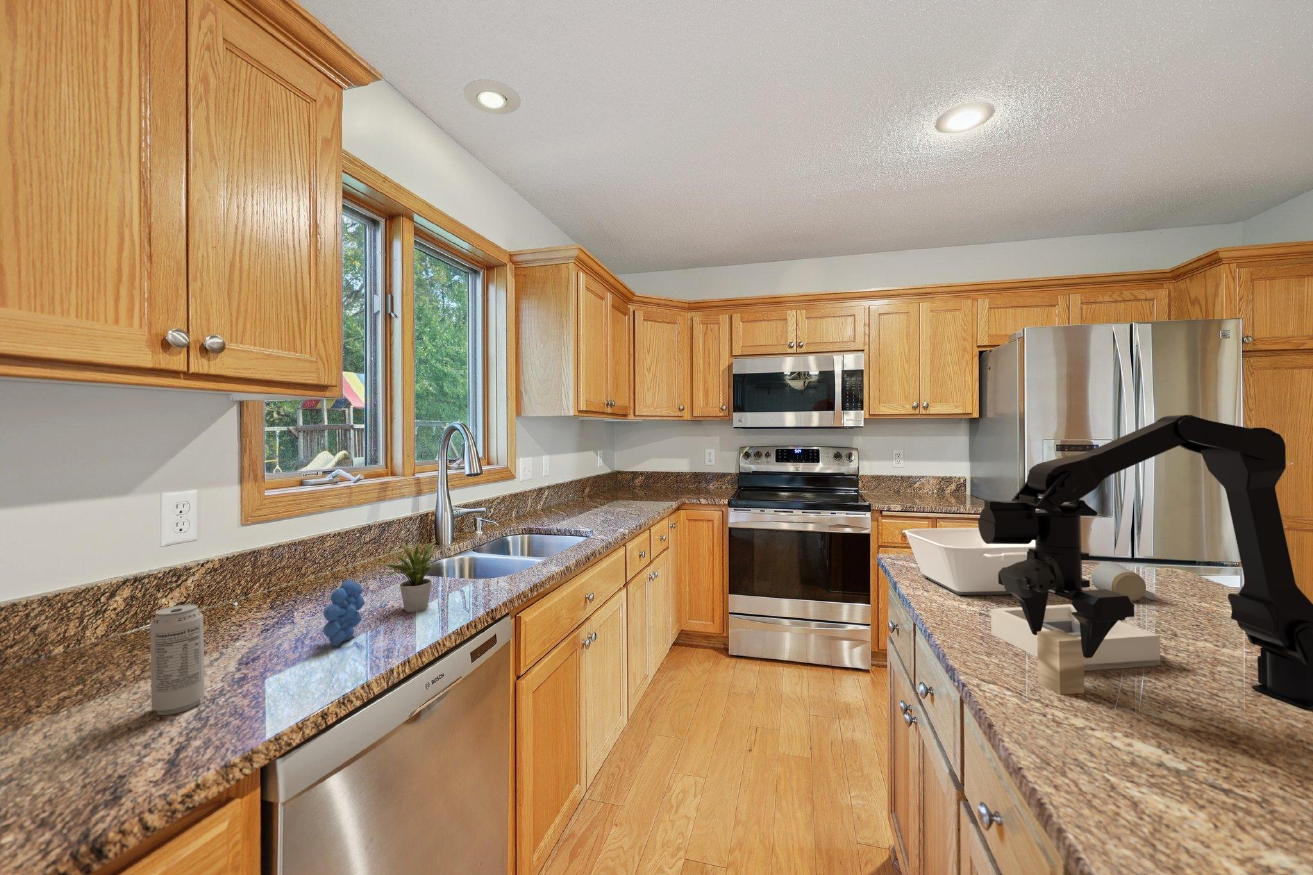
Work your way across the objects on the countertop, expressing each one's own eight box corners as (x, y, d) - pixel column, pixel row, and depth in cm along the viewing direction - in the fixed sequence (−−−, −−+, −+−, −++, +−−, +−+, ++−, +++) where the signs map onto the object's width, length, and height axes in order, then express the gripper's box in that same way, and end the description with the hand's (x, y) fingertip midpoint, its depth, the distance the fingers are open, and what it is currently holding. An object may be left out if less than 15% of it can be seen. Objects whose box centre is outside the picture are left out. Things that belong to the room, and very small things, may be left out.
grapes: (341, 630, 113) (340, 574, 114) (372, 630, 113) (371, 574, 113) (304, 652, 102) (303, 590, 102) (339, 652, 102) (338, 589, 102)
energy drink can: (207, 693, 86) (205, 600, 86) (201, 708, 81) (199, 610, 81) (156, 704, 82) (155, 607, 82) (147, 721, 77) (145, 618, 77)
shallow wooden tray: (1160, 665, 89) (1159, 635, 89) (1067, 672, 87) (1066, 641, 87) (1070, 629, 106) (1070, 604, 106) (991, 634, 104) (990, 608, 104)
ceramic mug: (1112, 602, 122) (1112, 569, 122) (1090, 592, 130) (1090, 560, 130) (1166, 605, 120) (1166, 571, 120) (1140, 594, 128) (1140, 562, 128)
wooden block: (1084, 692, 80) (1083, 639, 80) (1060, 694, 80) (1058, 641, 80) (1061, 680, 84) (1060, 630, 84) (1038, 682, 84) (1037, 631, 84)
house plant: (408, 597, 137) (407, 534, 137) (458, 598, 135) (457, 534, 136) (371, 615, 123) (370, 545, 123) (427, 617, 121) (425, 545, 121)
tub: (1077, 605, 120) (1076, 549, 120) (959, 608, 120) (958, 551, 120) (984, 569, 154) (983, 525, 154) (892, 571, 154) (891, 527, 154)
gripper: (967, 535, 90) (970, 627, 90) (1062, 560, 72) (1065, 675, 72) (1027, 533, 92) (1030, 623, 92) (1136, 556, 73) (1139, 670, 73)
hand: (1060, 645), depth 82 cm, fingers open, 9 cm apart
